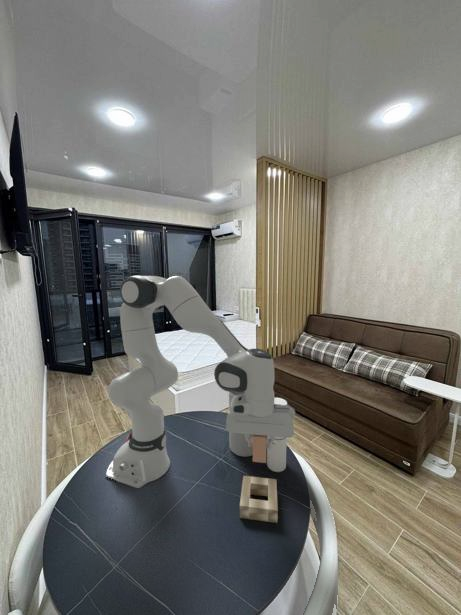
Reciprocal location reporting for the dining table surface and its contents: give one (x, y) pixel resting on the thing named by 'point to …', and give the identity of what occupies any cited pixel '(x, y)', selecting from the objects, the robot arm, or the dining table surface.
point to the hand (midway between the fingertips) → (259, 446)
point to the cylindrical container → (277, 448)
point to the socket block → (259, 507)
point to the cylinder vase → (239, 437)
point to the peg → (259, 448)
